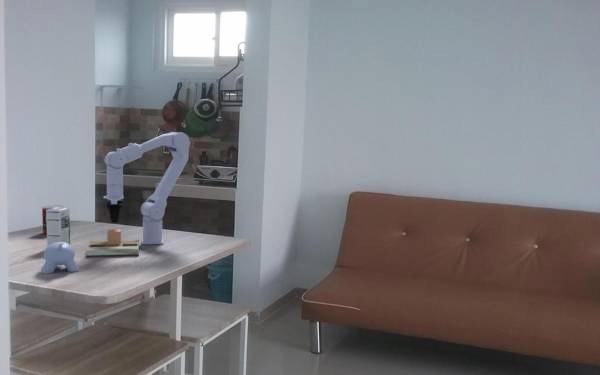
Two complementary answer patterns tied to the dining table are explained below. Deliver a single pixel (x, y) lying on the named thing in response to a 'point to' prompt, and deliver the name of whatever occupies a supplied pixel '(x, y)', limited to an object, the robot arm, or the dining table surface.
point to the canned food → (45, 215)
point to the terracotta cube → (114, 236)
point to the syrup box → (58, 225)
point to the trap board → (113, 248)
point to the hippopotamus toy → (59, 257)
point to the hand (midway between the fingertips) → (115, 221)
